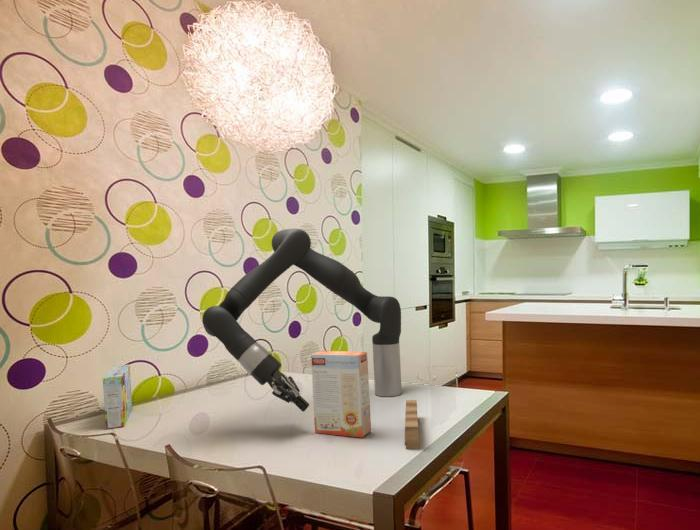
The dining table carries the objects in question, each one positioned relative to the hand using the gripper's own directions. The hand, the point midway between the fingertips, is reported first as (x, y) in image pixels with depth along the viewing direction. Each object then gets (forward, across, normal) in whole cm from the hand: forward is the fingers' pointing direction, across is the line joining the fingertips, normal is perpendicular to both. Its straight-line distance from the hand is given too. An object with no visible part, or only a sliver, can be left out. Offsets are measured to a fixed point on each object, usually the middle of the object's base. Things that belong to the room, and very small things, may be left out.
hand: (306, 408), depth 125 cm
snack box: (-40, +14, +49) cm, 64 cm away
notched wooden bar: (+24, 0, -15) cm, 28 cm away
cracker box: (+11, 0, -2) cm, 11 cm away
